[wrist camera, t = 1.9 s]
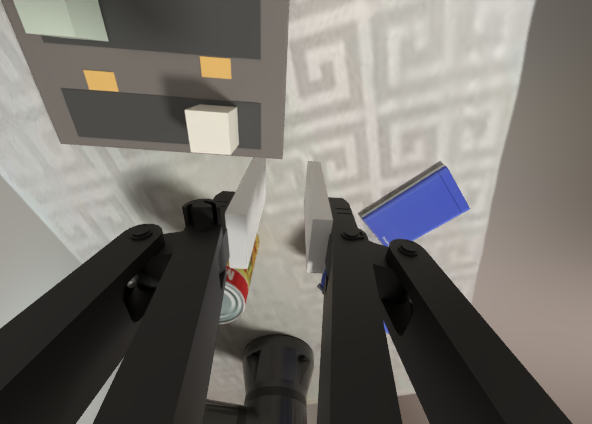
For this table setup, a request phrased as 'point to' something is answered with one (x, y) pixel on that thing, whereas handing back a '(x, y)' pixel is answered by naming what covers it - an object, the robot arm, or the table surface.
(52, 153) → the table surface
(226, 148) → the cream tab
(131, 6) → the switch panel
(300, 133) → the table surface
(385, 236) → the hard drive
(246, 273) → the canned food
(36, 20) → the sage tab
